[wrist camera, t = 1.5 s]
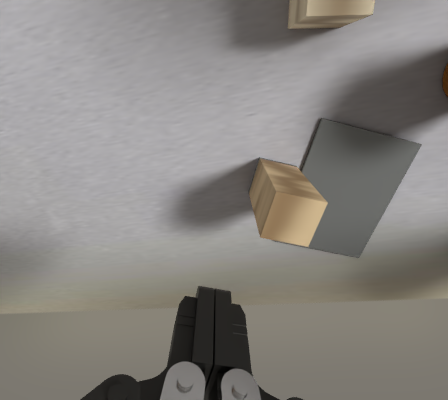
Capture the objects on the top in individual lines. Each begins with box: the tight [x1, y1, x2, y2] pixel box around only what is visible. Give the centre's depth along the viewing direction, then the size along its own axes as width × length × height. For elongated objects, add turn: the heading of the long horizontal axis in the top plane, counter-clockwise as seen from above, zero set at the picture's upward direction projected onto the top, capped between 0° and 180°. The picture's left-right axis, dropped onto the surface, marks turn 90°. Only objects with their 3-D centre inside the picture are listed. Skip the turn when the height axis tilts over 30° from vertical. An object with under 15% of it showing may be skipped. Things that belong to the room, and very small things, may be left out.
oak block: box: [249, 157, 328, 247], centre depth 27 cm, size 4×4×10 cm
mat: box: [275, 118, 422, 258], centre depth 33 cm, size 12×16×1 cm
